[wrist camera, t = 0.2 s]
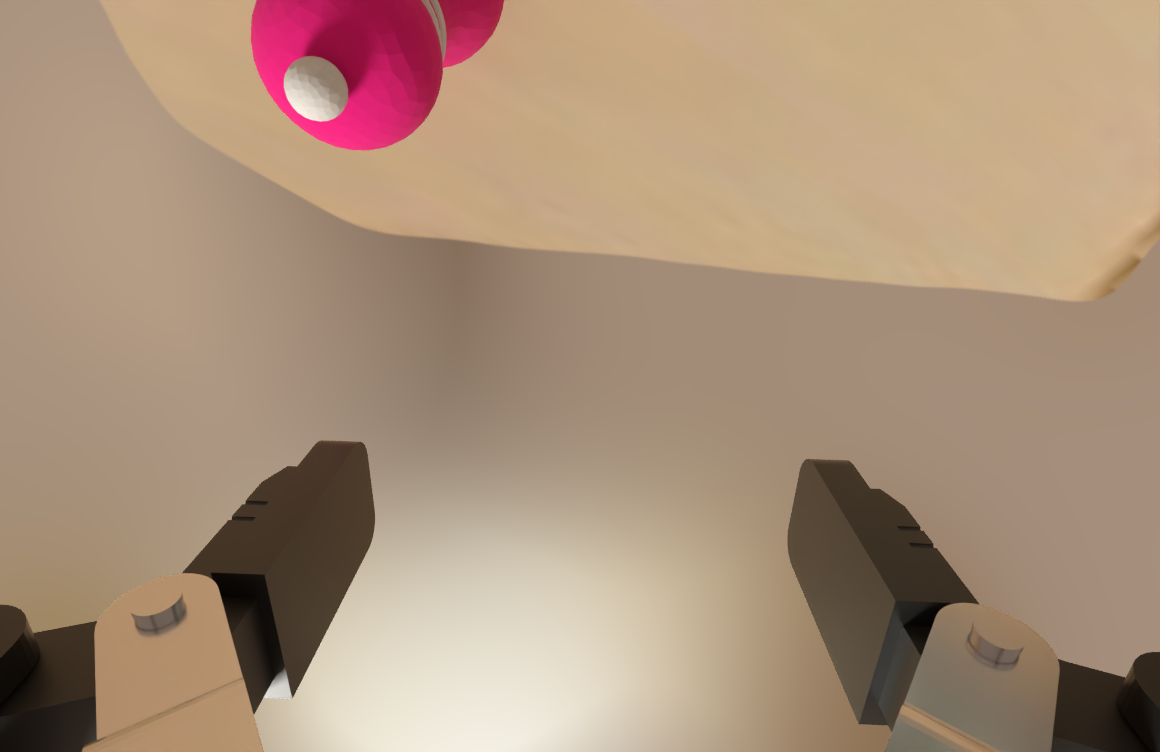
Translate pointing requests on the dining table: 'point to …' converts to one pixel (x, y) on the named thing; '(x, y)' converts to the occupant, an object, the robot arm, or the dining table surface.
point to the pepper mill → (364, 61)
